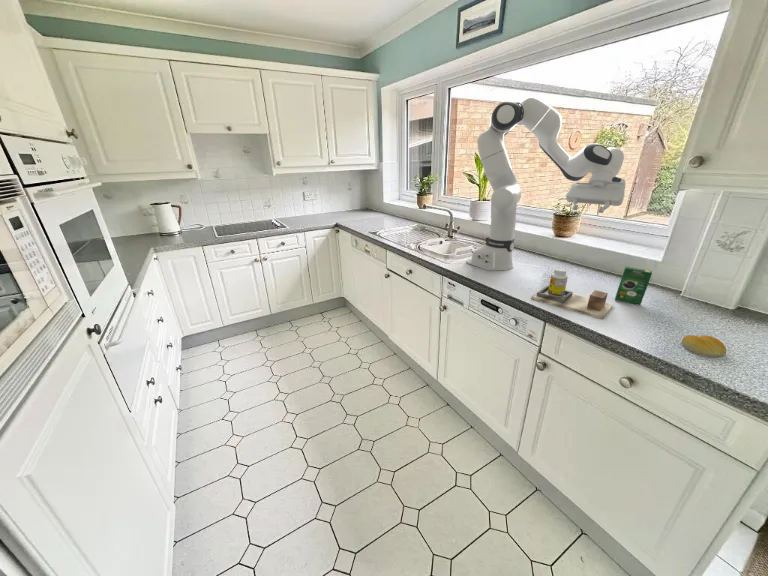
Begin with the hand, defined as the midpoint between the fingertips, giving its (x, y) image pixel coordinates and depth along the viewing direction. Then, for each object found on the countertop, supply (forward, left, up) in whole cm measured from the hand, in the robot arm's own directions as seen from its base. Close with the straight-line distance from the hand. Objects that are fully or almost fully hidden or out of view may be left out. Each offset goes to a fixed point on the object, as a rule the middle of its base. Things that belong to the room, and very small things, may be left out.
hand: (587, 210), depth 129 cm
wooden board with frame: (+8, -26, -30) cm, 41 cm away
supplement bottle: (+2, -26, -29) cm, 39 cm away
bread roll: (+44, -34, -30) cm, 63 cm away
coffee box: (+23, -11, -30) cm, 39 cm away
